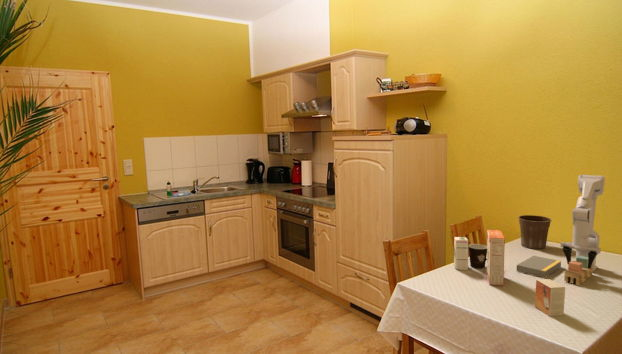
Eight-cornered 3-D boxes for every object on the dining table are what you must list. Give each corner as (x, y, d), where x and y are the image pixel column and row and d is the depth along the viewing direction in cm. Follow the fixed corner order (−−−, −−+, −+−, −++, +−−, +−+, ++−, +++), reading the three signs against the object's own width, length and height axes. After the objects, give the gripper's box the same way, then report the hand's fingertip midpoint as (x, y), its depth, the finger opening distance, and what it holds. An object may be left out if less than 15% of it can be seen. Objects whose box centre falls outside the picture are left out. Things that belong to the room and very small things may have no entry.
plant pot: (550, 252, 212) (551, 222, 210) (516, 248, 220) (517, 219, 218) (550, 244, 226) (551, 216, 224) (518, 241, 234) (519, 214, 232)
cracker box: (485, 273, 182) (486, 229, 179) (500, 275, 180) (501, 230, 177) (488, 285, 168) (489, 237, 166) (504, 286, 166) (505, 238, 164)
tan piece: (577, 272, 182) (578, 260, 181) (592, 275, 178) (592, 263, 177) (564, 282, 170) (564, 270, 170) (579, 285, 166) (579, 273, 165)
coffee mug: (467, 268, 189) (468, 248, 188) (468, 263, 197) (468, 243, 196) (494, 271, 185) (495, 250, 184) (493, 265, 193) (494, 245, 191)
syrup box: (468, 270, 187) (469, 240, 185) (455, 269, 188) (455, 239, 186) (466, 266, 192) (466, 237, 191) (453, 265, 194) (453, 236, 192)
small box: (534, 306, 147) (535, 279, 146) (548, 305, 147) (549, 278, 146) (549, 316, 139) (550, 287, 138) (564, 315, 139) (565, 286, 138)
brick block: (571, 269, 173) (571, 260, 172) (581, 271, 170) (582, 262, 169) (568, 271, 170) (568, 262, 170) (578, 274, 167) (579, 264, 167)
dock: (533, 261, 197) (533, 255, 197) (560, 267, 188) (561, 261, 188) (516, 271, 184) (516, 264, 184) (544, 277, 175) (545, 271, 175)
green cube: (578, 264, 180) (579, 255, 179) (589, 266, 177) (589, 257, 176) (576, 266, 177) (576, 257, 177) (586, 268, 174) (587, 259, 174)
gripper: (558, 234, 175) (557, 264, 176) (598, 240, 164) (596, 272, 165) (564, 231, 179) (562, 260, 181) (602, 237, 168) (601, 268, 170)
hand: (579, 265), depth 173 cm, fingers open, 7 cm apart
